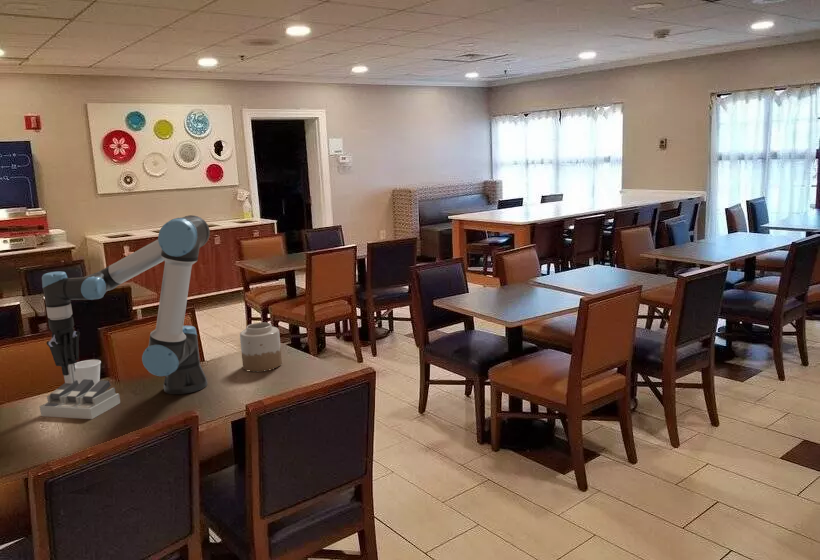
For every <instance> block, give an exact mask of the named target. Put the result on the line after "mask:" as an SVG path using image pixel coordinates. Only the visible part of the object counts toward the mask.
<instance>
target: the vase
mask: <svg viewBox="0 0 820 560" xmlns="http://www.w3.org/2000/svg"><path fill="white" fill-rule="evenodd" d="M239 341H240V352H241V360H242V368H243V370H244V369H246V370H250V371H264V370H269V369H273V368H276V367H278V366H280V365H281V364H283V359H282V358H283V357H282V348H281V337H280V330H279V328H278V327H276V326H272V323H269V322H255V323H250V324H248V325H246V327H245V329H242V330H241V331H240V333H239ZM281 366H282V365H281ZM281 366H280V367H281ZM278 368H279V367H278ZM276 369H277V368H276ZM246 370H245V371H246ZM273 370H274V369H273ZM250 371H249V372H250ZM269 371H270V370H269ZM264 372H265V371H264Z"/></svg>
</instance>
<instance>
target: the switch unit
mask: <svg viewBox="0 0 820 560" xmlns="http://www.w3.org/2000/svg"><path fill="white" fill-rule="evenodd" d="M72 391H73V390H72ZM72 391H70V392H68V393H66V394H64V395H62V396H60V397H59V398H60V399H52V398H51V395H50V394H48V395H47V396H46V399H47V402H45V403H44V404H42V405H40V406H39V411H40V416H41V417H50V418H51V417H52V418H67V419H68V418H69V419H83V420H84V419H85V420H93V419H94V418H97V417H98V416H100V415H102V414H104V413H105V412H107V411H109V410H111V409H112V408H114V407H116V406H117V405H119V404H121V398H120V393H116V389H115V387H111V388H110V389H109V388H108V389H107V390H106V391H105V392H104V393H102V394H100V395H98V396H96V397H94V398H92V400H93V402H85V400H84V398H83V396H84V395H85V394H86V393H88V392H89V391H88V392H86V393H84V394H82V395H80V396H78V397H76V402H74V401H69V400H68V398H67V396H68V395H69V394H70V393H71V392H72Z"/></svg>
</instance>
